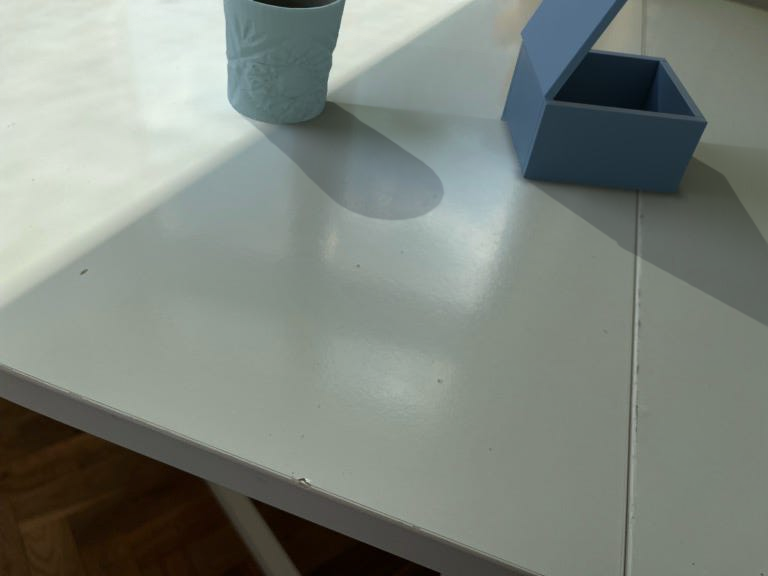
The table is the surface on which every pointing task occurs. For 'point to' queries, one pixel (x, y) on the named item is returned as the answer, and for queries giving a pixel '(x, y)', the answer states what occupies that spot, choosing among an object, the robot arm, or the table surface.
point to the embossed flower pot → (280, 56)
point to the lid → (565, 37)
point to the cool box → (605, 123)
